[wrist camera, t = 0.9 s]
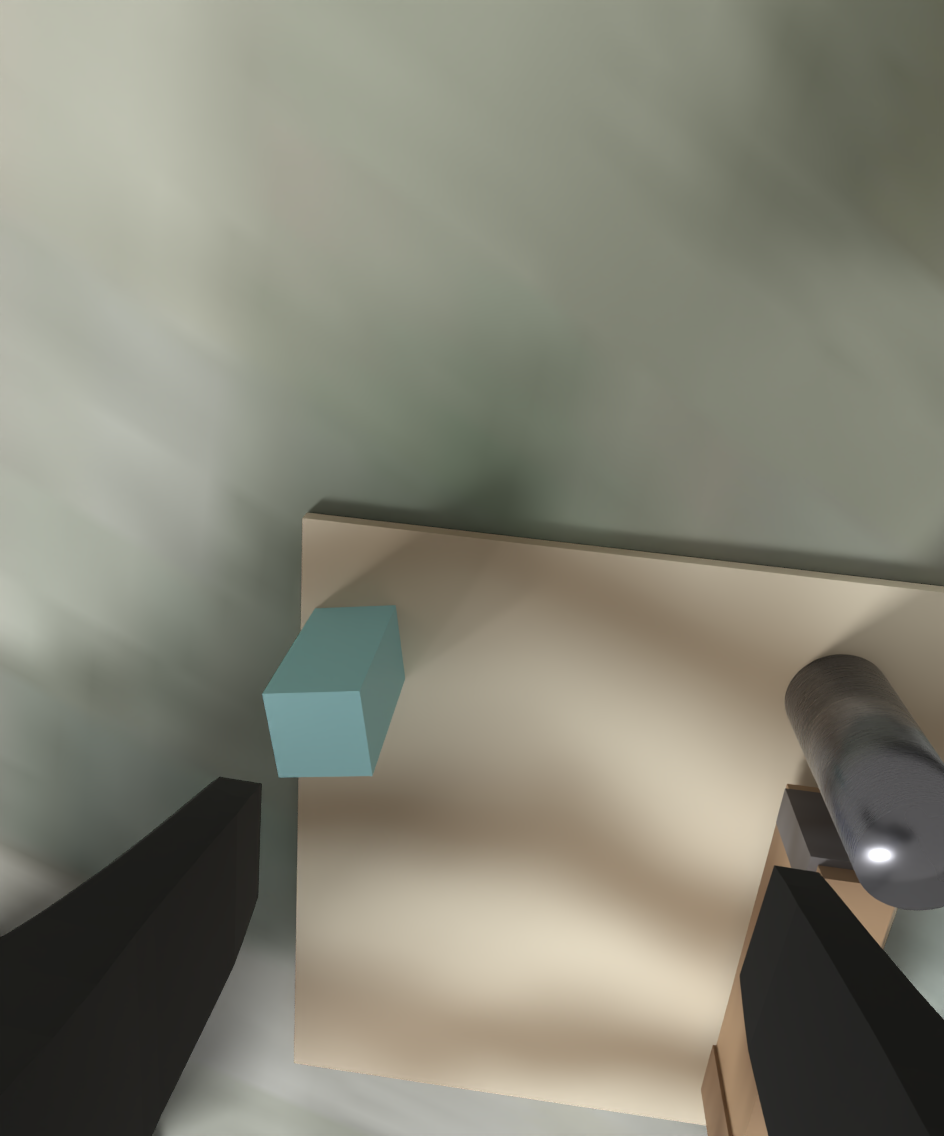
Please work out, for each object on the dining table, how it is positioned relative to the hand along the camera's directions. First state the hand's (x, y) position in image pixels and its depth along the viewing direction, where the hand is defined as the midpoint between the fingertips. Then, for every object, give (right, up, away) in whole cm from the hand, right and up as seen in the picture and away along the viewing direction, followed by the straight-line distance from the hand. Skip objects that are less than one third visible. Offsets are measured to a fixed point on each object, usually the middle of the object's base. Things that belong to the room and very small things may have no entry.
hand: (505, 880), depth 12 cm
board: (+3, -4, +12) cm, 12 cm away
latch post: (-3, +3, +10) cm, 11 cm away
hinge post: (+8, +1, +9) cm, 12 cm away
